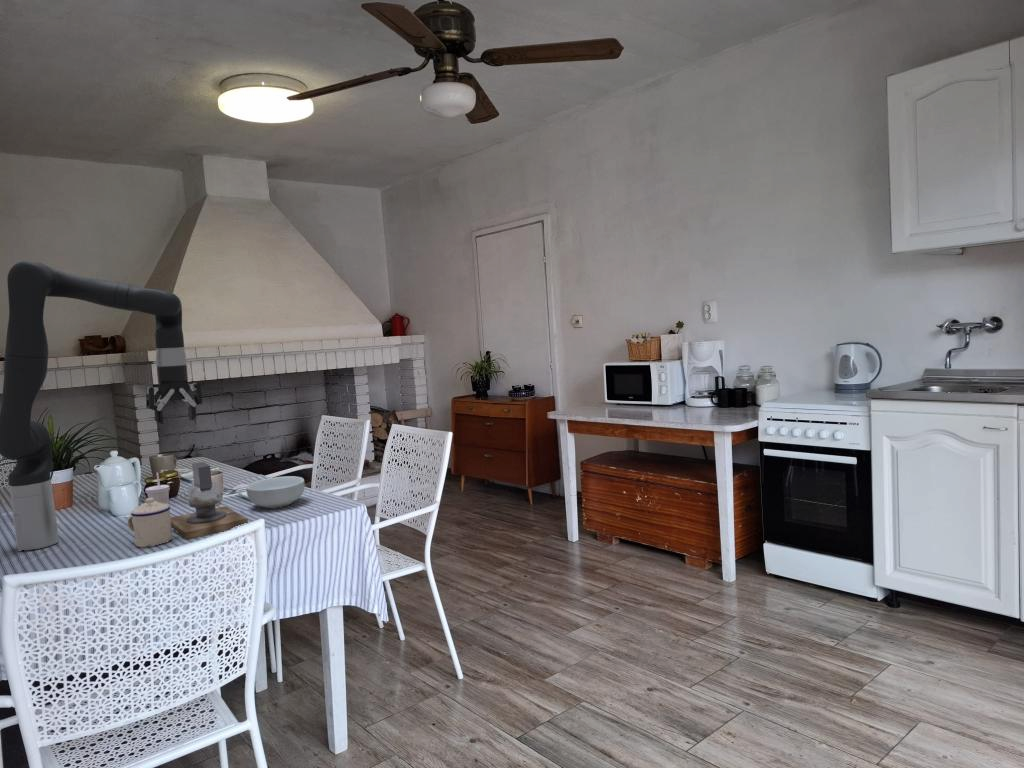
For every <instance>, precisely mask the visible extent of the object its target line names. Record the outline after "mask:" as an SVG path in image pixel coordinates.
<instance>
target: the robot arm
mask: <svg viewBox="0 0 1024 768" xmlns="http://www.w3.org/2000/svg"><path fill="white" fill-rule="evenodd" d="M6 279H7V293H8V294H7V295H8V323H7V328H6V329H7V332H6V338H5V348H4V349H5V350H4V362H3V363H4V366H3V385H2V394H1V395H2V398H1V407H0V456H2V458H4V459H6V460H9V461H16V464H15V466H14V468H13V470H12V471H11V472H10V473H9V474H8V477H7V479H8V480H7V481H8V488H9V489H8V490H9V495H10V502H11V503H10V504H11V510H12V513H11V514H12V519H13V528H14V533H15V534H14V535H15V542H16V548H17V552H22V550H24V551H32V550H33V549H34V550H38V549H43V548H47V547H49V546H53V545H56V544H57V543H59V542H60V540H59V531H58V523H57V516H56V515H57V514H56V507H55V501H54V493H53V485H52V477H51V473H52V469H53V452H52V450H53V449H52V440H51V439H52V438H51V435H50V432H49V430H48V429H47V427H46V426H45V425H44V424H43V423H41V422H39V421H38V420H32V409H33V405H34V403H35V400H36V398H37V396H38V394H39V393H40V391H41V388H42V387H43V384H44V382H45V380H46V377H47V373H48V363H49V344H48V338H47V334H46V328H45V325H44V310H45V305H46V304H45V303H46V297H48V298H49V297H54V298H56V297H57V298H67V299H75V300H80V301H84V302H88V303H91V304H95V305H99V306H103V307H107V308H112V309H118V310H122V311H123V310H124V311H128V312H129V311H130V312H139V313H143V314H147V315H153V316H154V317H155V325H156V327H155V331H154V339H155V364H156V374H157V386H156V387H155V386H154V387H151V386H147V387H146V388H145V402H146V403H145V404H146V409H148V410H151V411H153V412H154V421H155V423H157V424H158V425H164V417H163V416H164V415H163V413H164V412H163V410H162V409H163V408H164V406H165V405H166V404H167V403H168V402H173V401H174V402H175V401H183V402H185V403H186V404H187V405H188V407H187V411H188V412H187V413H188V420H189V421H195V419H197V409H196V407H197V406H198V405H201V404H203V397H202V389H201V383H199V382H194V383H189V381H188V380H189V377H188V375H189V374H188V366H187V365H188V363H187V355H186V349H185V342H184V341H185V340H184V339H185V338H184V333H183V332H184V331H183V306H182V302H181V299H180V297H178V296H177V294H175V293H173V292H171V291H166V290H160V289H154V288H146V287H145V288H144V287H141V286H138V285H133V284H130V283H129V284H128V283H124V282H118V281H113V280H106V279H98V278H94V277H93V278H91V277H85V276H82V275H81V276H80V275H76V274H71V273H68V272H65V271H62V270H59V269H56V268H54V267H50V266H48V265H46V264H45V263H41V262H39V261H33V260H32V261H29V260H24V261H23V260H22V261H19V262H16V263H15V264H14V265H12V266H11V268H10V269H9V271H8V274H7V278H6ZM190 389H191V391H192V395H193V398H192V397H191V396H190V395H189V393H188V392H189V391H190ZM157 393H158V394H159V395H160V396H159V397H158V399H157V401H156V403H155V395H157Z"/></svg>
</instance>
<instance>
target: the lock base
mask: <svg viewBox="0 0 1024 768" xmlns="http://www.w3.org/2000/svg"><path fill="white" fill-rule="evenodd" d="M170 519H171V527H172V528H173V529H174V530H175V532H176V531H177V532H178V533H179V534H180V535H179V534H178V533H177V532H176V533H177V534H178V535H179V536H181V535H182V536H183V537H184V538H185V539H188V540H191V539H196V538H200V537H204V535H205V536H209V535H213V534H217V533H221V531H222V532H225V531H224V530H227V531H229V530H228V529H231V528H233V527H235V526H238V525H241V524H244V523H248V524H249V522H248V518H247V517H246V516H244V515H242V514H241V513H238V512H237V511H235V510H233V509H232V508H230V507H228V506H227V505H225V506H220V507H216V504H214V505H211V506H205V507H195V512H192V513H188V514H182V515H178V516H174V517H170ZM173 529H172V530H173ZM174 530H173V531H174ZM231 530H232V529H231ZM182 536H181V537H182ZM183 537H182V538H183ZM184 538H183V539H184ZM185 539H184V540H185Z"/></svg>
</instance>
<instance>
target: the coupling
mask: <svg viewBox="0 0 1024 768" xmlns="http://www.w3.org/2000/svg"><path fill="white" fill-rule="evenodd" d="M191 465H192V466H191V467H192V474H193V475H192V476H193V484H192V485H190V486H187V489H186V490H187V496H188V505H189V506H188V507H190V508H196V507H205V506H211V505H214V504H215V505H217V504H219V503H221V502H222V501H221V493H220V491H221V490H220V483H219V482H217V481H216V482H215V481H214V482H212V474H211V473H212V472H211V466H210V464H208V463H206V462H205V461H199V462H192V463H191Z"/></svg>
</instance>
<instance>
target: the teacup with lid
mask: <svg viewBox="0 0 1024 768" xmlns="http://www.w3.org/2000/svg"><path fill="white" fill-rule="evenodd" d="M170 509H171V506H170V505H169V503H168V504H165V503H160V502H158V501H154V499H153V498H148V497H147V498H146V499H145V502H143V503H141V504H140V505H139V506H137V507H135V508H134V509H132V510H131V511H130V512H131V513H130V516H129V517H127V522H126V523H127V526H128V529H129V530H130V531H131V532H132V533H134V539H135V540H134V541H135V545H136V547H138V546H139V548H146V547H145V546H152V547H154V546H153V545H157V546H159V545H158V544H161V543H164V544H166V543H165V542H167V541H169V540H171V539H172V540H173V529H172V527H171V519H170V518H171V512H170ZM172 540H171V541H172ZM169 542H170V541H169ZM167 543H168V542H167ZM161 545H162V544H161Z"/></svg>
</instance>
